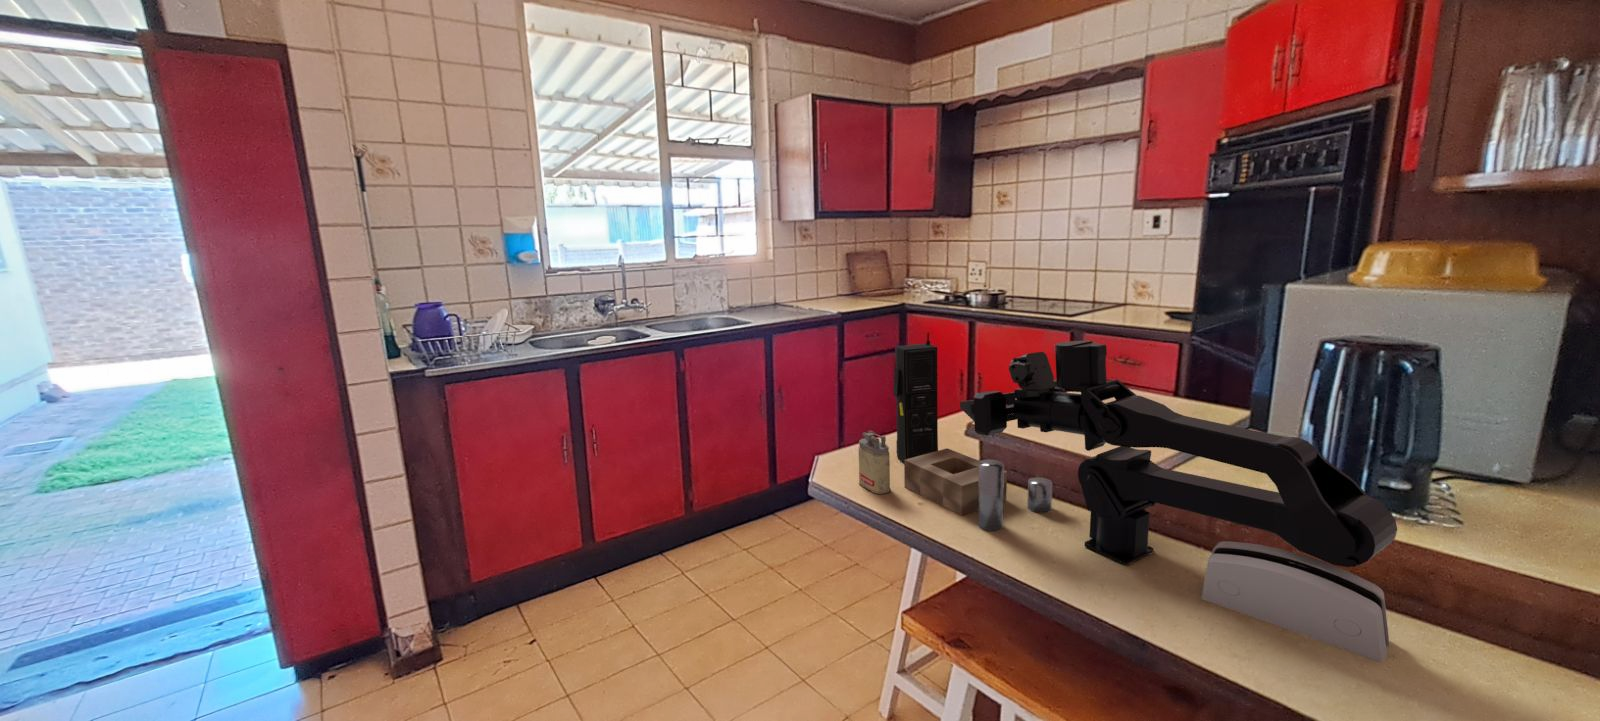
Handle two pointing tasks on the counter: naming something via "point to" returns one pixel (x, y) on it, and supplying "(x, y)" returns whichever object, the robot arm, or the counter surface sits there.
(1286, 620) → the grey curved block
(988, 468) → the tall pin
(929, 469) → the block
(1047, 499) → the short pin
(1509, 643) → the counter surface
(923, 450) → the portable radio
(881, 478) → the lighter
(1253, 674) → the counter surface
